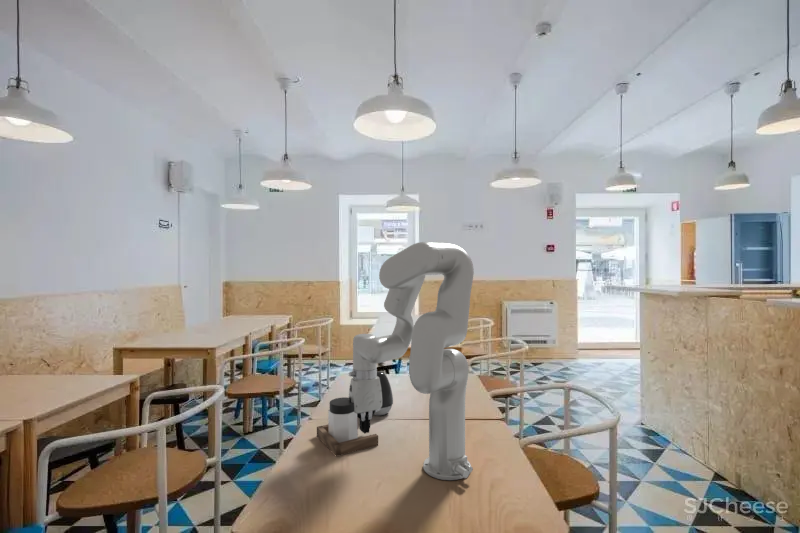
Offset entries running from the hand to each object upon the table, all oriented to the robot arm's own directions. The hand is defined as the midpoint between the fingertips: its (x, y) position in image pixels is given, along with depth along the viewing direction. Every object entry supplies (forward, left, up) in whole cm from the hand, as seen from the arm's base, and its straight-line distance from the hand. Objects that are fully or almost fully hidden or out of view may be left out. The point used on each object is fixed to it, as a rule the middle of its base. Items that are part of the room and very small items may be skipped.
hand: (364, 431), depth 131 cm
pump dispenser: (+16, -13, -2) cm, 21 cm away
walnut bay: (0, +6, -2) cm, 6 cm away
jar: (+1, +7, -2) cm, 7 cm away
